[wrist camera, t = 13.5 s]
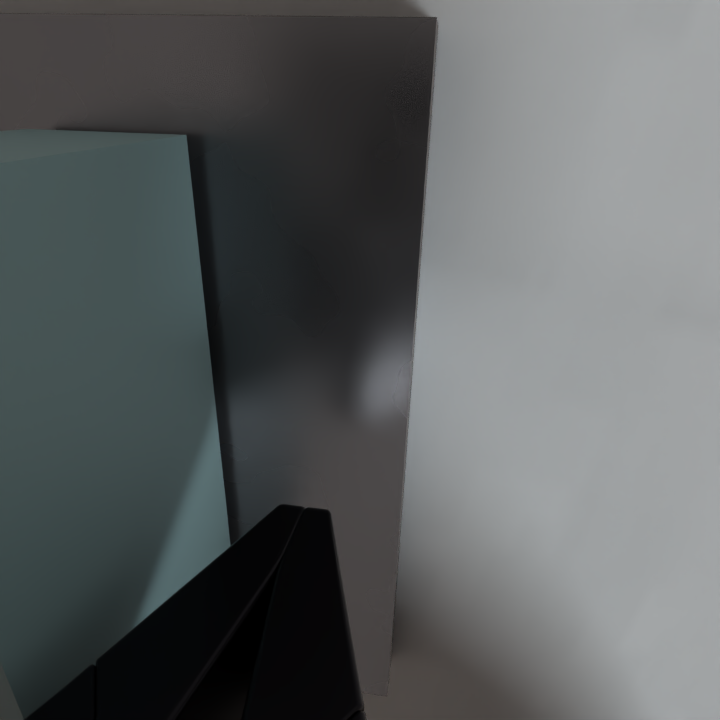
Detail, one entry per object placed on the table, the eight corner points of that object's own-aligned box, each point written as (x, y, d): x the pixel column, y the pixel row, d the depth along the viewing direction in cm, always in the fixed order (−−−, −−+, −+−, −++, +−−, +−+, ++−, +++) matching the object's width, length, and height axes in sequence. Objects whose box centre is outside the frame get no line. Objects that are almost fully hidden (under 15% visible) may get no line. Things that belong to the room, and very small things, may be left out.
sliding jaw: (186, 134, 8) (-193, 192, 3) (241, 644, 13) (121, 960, 8) (27, 128, 8) (-528, 174, 4) (140, 629, 13) (-31, 923, 8)
